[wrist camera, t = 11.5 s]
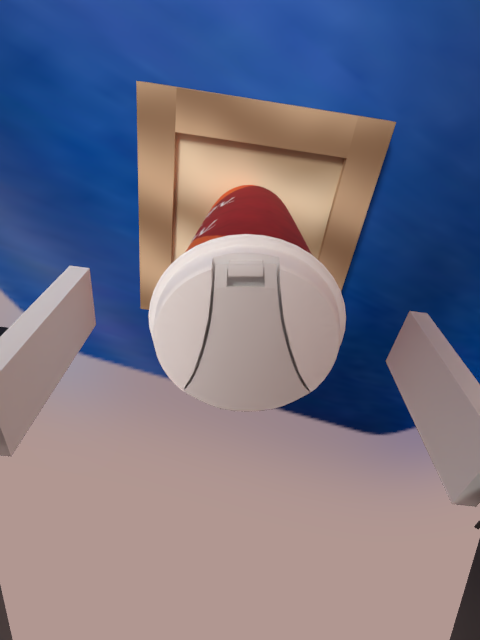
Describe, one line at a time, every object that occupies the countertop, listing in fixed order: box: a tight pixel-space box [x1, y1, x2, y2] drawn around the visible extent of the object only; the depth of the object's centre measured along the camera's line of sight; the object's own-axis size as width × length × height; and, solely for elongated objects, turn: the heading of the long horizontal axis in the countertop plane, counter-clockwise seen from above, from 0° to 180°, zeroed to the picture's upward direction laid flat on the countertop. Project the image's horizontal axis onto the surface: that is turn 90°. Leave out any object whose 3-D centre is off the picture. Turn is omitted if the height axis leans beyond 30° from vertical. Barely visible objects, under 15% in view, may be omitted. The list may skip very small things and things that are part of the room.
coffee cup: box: [149, 185, 346, 411], centre depth 20 cm, size 8×8×15 cm
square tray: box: [136, 81, 396, 310], centre depth 27 cm, size 16×16×2 cm
